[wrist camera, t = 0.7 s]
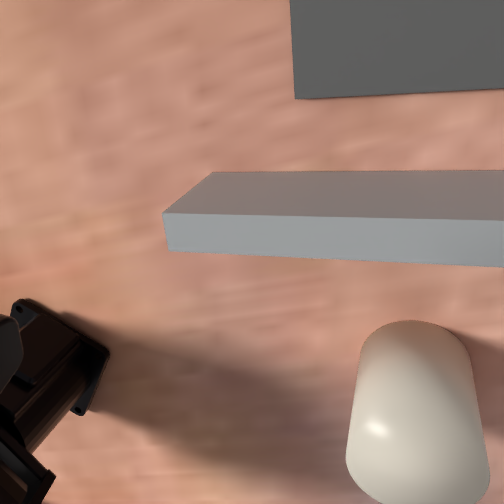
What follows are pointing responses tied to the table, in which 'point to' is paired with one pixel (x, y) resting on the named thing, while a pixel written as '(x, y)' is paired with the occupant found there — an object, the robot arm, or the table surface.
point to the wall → (345, 216)
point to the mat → (396, 46)
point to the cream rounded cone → (416, 419)
